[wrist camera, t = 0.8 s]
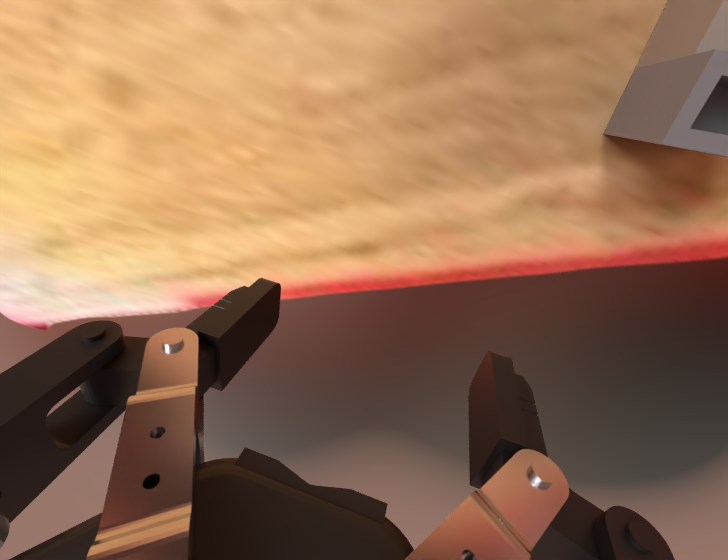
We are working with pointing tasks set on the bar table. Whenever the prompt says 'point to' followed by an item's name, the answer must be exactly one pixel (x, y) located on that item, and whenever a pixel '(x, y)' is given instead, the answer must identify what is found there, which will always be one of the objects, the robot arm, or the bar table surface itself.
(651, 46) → the grey hollow block
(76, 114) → the bar table surface
